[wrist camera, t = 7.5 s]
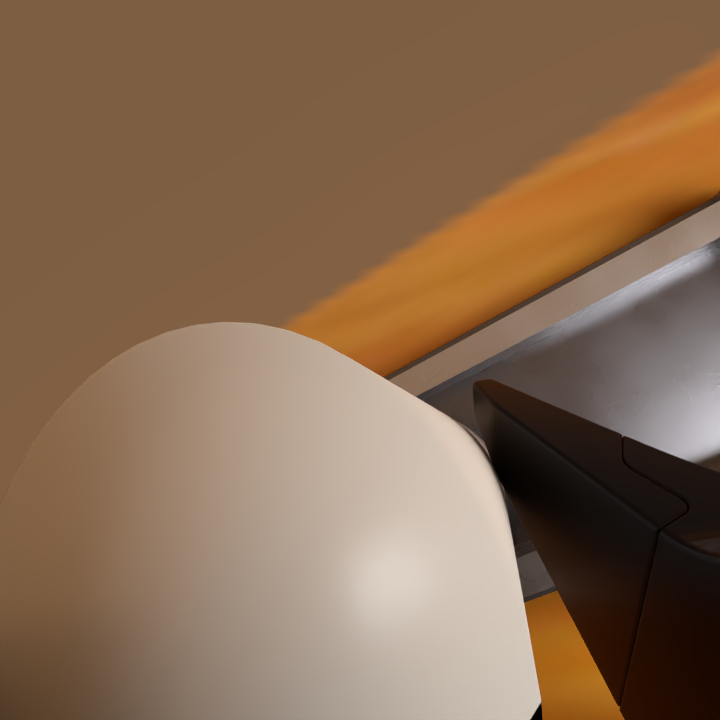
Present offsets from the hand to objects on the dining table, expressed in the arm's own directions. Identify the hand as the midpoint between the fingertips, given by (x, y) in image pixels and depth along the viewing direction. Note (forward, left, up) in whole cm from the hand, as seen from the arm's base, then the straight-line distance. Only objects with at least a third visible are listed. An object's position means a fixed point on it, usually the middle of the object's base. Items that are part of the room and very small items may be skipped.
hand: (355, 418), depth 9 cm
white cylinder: (-1, +2, -6) cm, 6 cm away
